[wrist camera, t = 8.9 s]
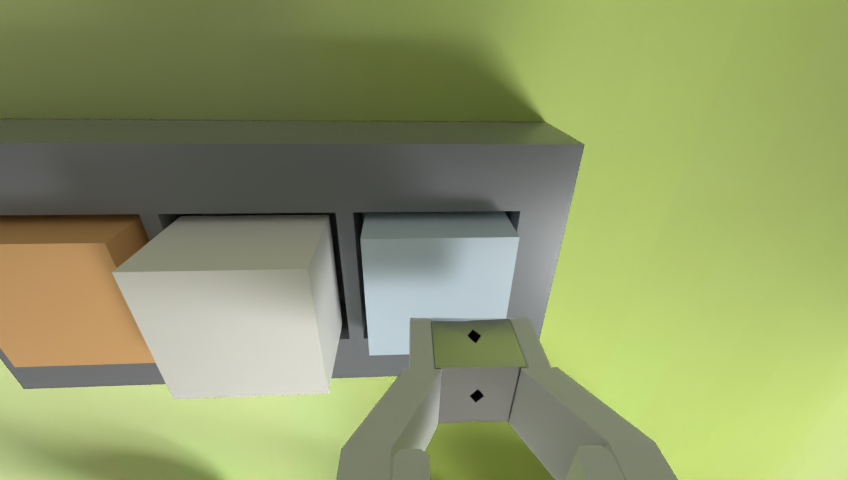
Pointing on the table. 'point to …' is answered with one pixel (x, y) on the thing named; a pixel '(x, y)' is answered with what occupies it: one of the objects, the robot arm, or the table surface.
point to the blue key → (433, 270)
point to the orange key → (68, 290)
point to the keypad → (296, 196)
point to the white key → (238, 304)
